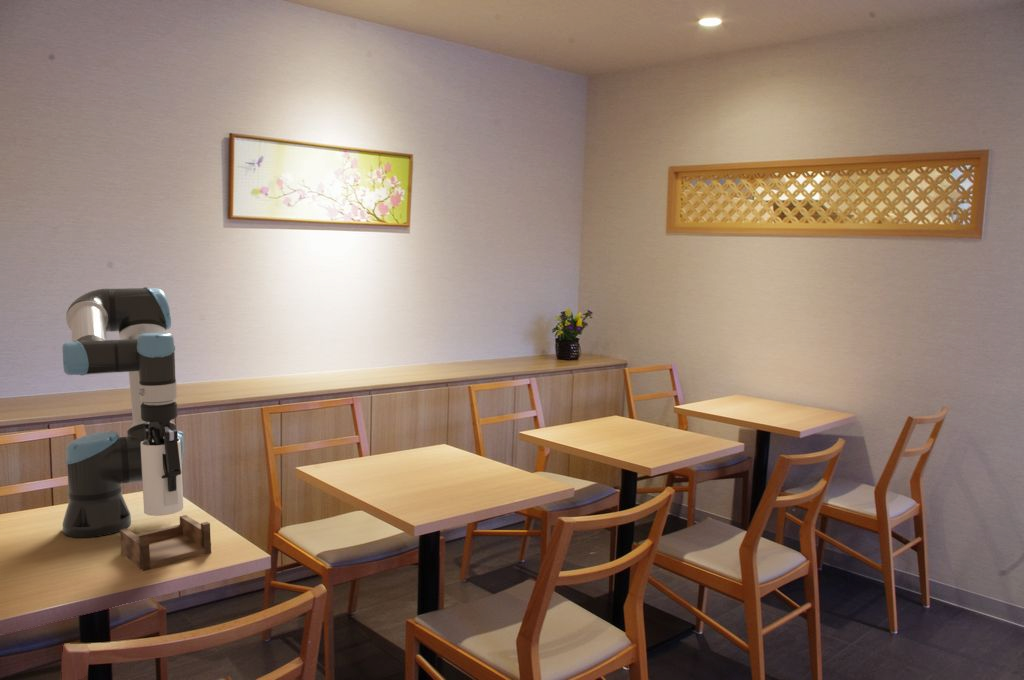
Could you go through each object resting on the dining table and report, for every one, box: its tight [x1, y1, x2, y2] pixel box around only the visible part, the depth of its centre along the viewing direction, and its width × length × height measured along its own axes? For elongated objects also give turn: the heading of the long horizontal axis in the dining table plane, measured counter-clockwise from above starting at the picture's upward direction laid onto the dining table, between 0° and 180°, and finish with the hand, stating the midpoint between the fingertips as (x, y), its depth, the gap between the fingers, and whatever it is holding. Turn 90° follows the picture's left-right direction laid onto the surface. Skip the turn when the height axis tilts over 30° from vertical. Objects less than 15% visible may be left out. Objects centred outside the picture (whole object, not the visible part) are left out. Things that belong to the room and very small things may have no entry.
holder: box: [119, 514, 212, 572], centre depth 182 cm, size 14×15×7 cm
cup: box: [141, 438, 184, 517], centre depth 180 cm, size 8×8×16 cm
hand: (163, 500), depth 181 cm, fingers closed on cup, 8 cm apart
